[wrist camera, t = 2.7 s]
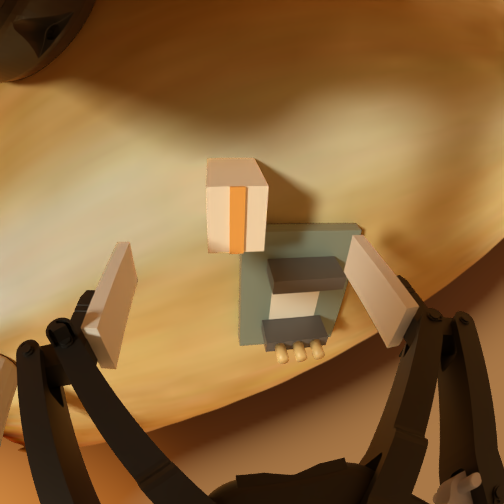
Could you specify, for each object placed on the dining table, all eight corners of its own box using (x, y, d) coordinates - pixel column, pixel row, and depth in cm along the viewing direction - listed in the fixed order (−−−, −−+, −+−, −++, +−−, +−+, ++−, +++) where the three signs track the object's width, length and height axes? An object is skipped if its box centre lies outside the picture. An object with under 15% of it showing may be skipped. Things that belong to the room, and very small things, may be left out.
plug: (207, 158, 24) (205, 188, 18) (254, 157, 24) (269, 187, 19) (208, 211, 27) (208, 254, 21) (251, 209, 27) (264, 252, 21)
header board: (240, 224, 28) (249, 269, 22) (355, 223, 29) (387, 261, 24) (238, 336, 37) (244, 382, 31) (327, 328, 38) (343, 369, 32)
